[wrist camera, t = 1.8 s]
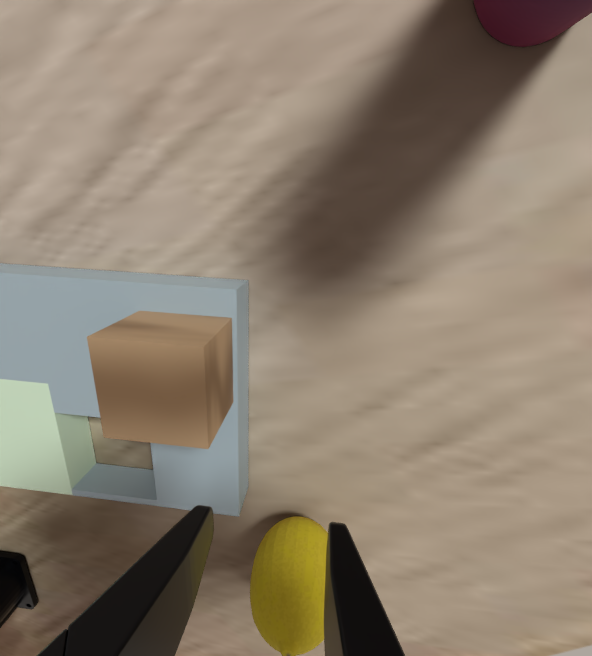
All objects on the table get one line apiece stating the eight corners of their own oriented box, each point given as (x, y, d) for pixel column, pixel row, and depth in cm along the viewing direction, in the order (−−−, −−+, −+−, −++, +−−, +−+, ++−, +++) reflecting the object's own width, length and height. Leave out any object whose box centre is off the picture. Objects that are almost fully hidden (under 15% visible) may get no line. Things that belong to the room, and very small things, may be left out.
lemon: (346, 544, 25) (352, 688, 17) (275, 550, 26) (252, 690, 18) (330, 485, 23) (329, 617, 16) (255, 494, 24) (220, 622, 17)
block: (233, 402, 19) (208, 449, 15) (148, 393, 19) (103, 437, 15) (232, 317, 17) (203, 346, 13) (139, 310, 18) (86, 336, 14)
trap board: (248, 486, 24) (236, 523, 21) (-89, 446, 26) (-140, 474, 23) (248, 280, 19) (233, 291, 16) (-167, 251, 21) (-244, 257, 18)
